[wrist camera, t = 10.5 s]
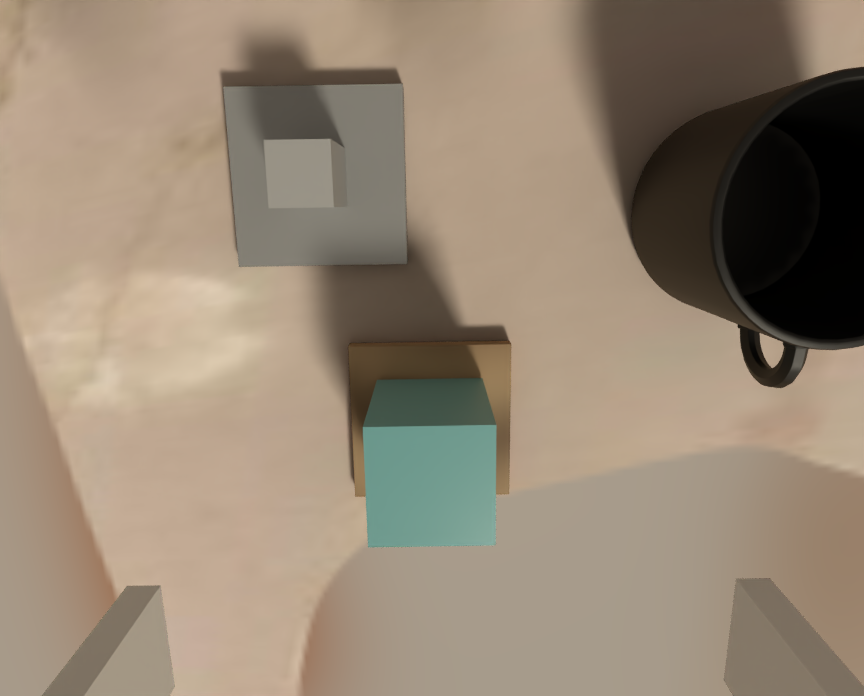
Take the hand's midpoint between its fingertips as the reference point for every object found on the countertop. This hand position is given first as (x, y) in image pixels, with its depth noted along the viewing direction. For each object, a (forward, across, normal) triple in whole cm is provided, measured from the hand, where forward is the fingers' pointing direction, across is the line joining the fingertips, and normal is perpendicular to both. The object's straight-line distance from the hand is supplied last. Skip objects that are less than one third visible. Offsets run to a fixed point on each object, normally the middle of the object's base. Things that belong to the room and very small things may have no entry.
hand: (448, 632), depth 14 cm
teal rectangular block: (+17, 0, -2) cm, 17 cm away
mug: (+18, +14, +7) cm, 24 cm away
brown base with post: (+18, 0, -2) cm, 18 cm away
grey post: (+18, -6, +10) cm, 22 cm away
